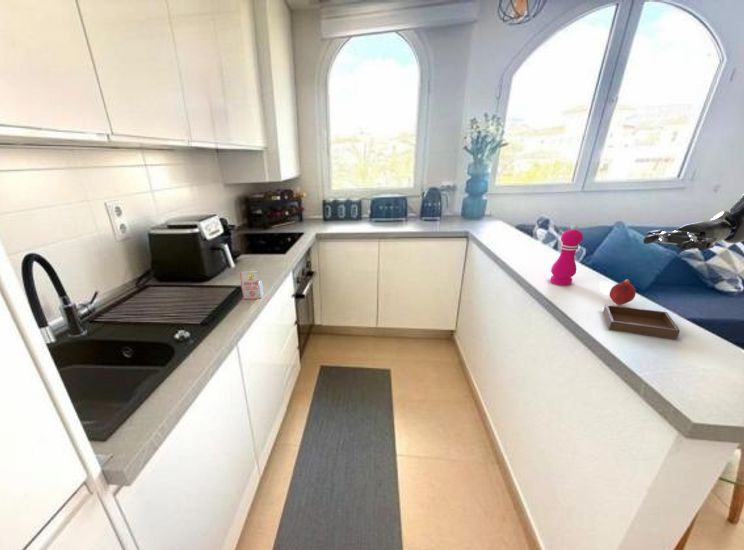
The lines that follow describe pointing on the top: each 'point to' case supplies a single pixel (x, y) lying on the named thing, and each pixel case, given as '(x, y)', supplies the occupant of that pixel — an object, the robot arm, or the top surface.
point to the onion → (622, 293)
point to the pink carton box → (251, 285)
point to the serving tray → (640, 321)
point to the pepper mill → (566, 257)
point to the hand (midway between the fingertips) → (663, 243)
